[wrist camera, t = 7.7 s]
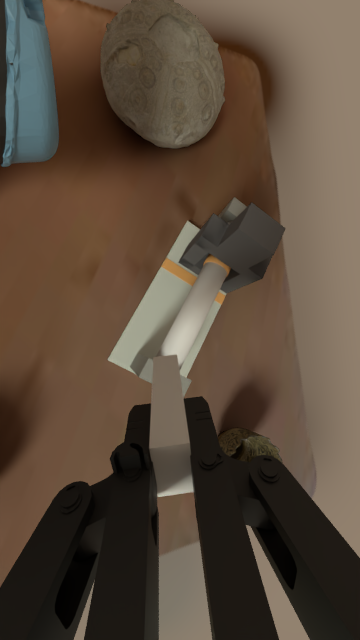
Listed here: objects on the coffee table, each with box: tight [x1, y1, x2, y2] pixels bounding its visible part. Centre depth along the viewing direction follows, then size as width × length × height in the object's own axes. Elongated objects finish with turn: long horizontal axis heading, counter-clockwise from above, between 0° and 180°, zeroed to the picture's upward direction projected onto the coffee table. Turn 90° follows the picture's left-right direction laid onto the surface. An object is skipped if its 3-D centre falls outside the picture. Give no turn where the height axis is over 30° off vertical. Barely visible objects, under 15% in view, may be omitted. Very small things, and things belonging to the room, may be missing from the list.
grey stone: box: [100, 0, 225, 148], centre depth 33 cm, size 18×18×10 cm
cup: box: [218, 428, 283, 463], centre depth 32 cm, size 8×7×8 cm
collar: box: [178, 203, 285, 293], centre depth 26 cm, size 3×8×12 cm, turn 62°
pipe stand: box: [108, 197, 247, 398], centre depth 30 cm, size 24×11×11 cm, turn 152°
